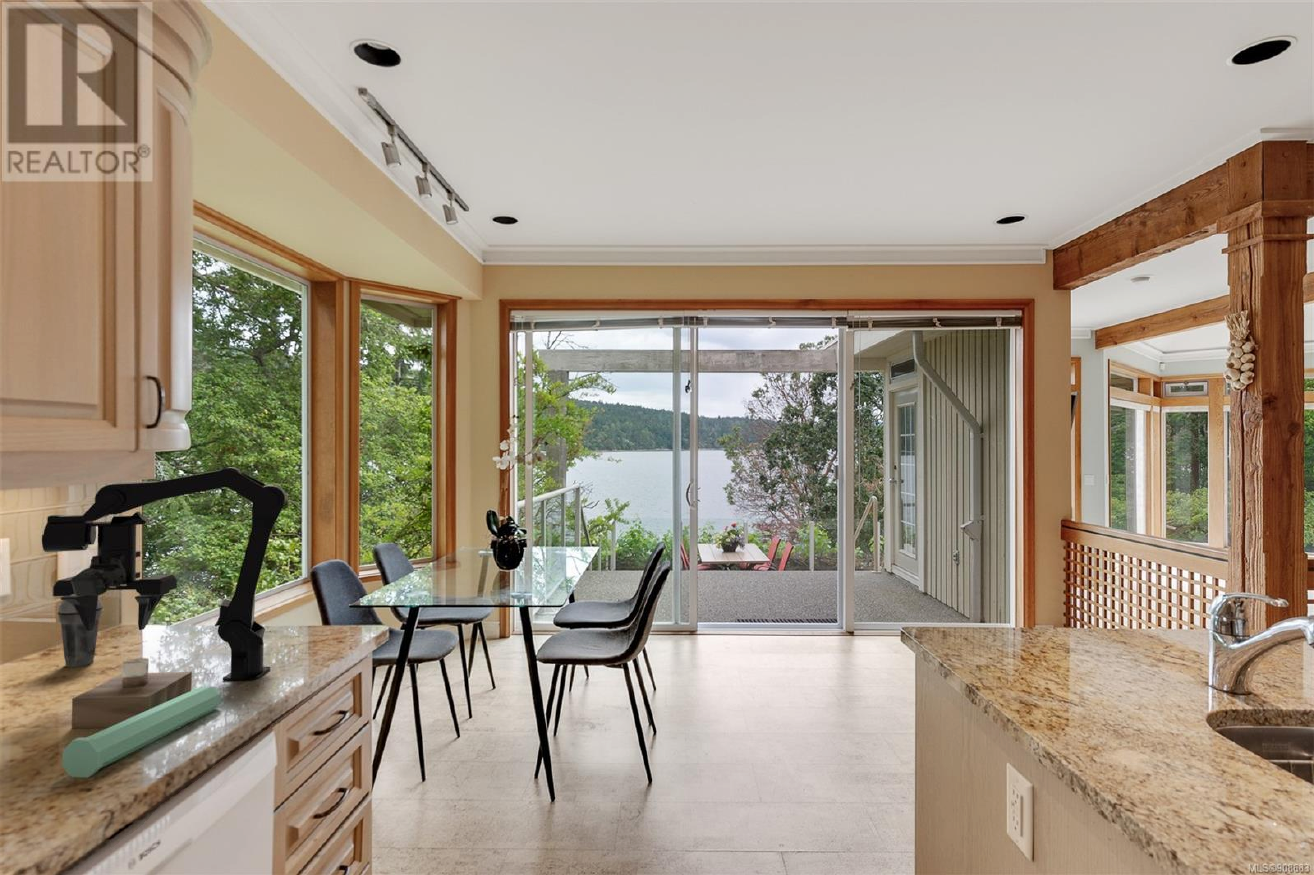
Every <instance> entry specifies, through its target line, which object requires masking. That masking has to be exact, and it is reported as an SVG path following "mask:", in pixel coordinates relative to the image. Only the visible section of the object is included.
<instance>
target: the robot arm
mask: <svg viewBox="0 0 1314 875" xmlns="http://www.w3.org/2000/svg"><path fill="white" fill-rule="evenodd" d="M223 488H228V489H230V490H232V491H233V492H235V493H236V494H238V495H239V496H240V497H243V498H245V499H246V500H248V501H250V502H252V505H251V506H252V511H251V529H250V530H251V531H250V534H249V536H248V541H247V544H246V548H245V552H244V556H243V560H242V564H241V567H240V570H239V574H238V579H237V583H236V586H235V591H234V594H233V595H232V598H231V600H228V599H225V598H224V599H223V600H222V603H221V604H220V606H219V617H218V619H217V621H216V622H215V624H214V627H217V635H218V636H219V638H220V639H221V640H222V641H224V642H225V643H228V646H229V648H230V672H229V673H228V674H226V675H224V676H223V677H222V680H223V681H239V680H240V681H244V680H245V681H246V680H249V681H250V680H257V679H258V678H261V676H263V675H264V674H266V673H267V672H268V671H270V670H271V666H264V643H265V642H264V635H265V631H266V628H265V627H264V626H263V625H261V624H260V623H258V622H257V621H256V620H255V607H256V605H255V604H256V603H255V602H256V592H257V591H256V590H257V587H258V583H259V579H260V576H261V572H262V569H263V564H264V560H265V556H266V553H267V549H268V546H269V542H270V538H271V534H272V531H273V528H274V526H275V524H276V522H277V520H278V518H279V516H280V513H281V512H282V510H283V507H284V505H285V503H286V500H287V493H286V492H285V490H284V488H282V487H281V486H279V485H276V484H270V483H269V484H265V483H264V482H262V481H260V480H258V479H256V478H254V477H252V476H250V475H248V474H246V473H244V472H243V471H242V470H240V469H239V468H236V467H234V466H232V467H231V466H229V467H225V468H223V469H219V470H213V471H208V472H203V473H197V474H196V473H195V474H192V475H186V476H185V475H184V476H180V477H175V478H168V479H164V480H163V479H162V480H158V481H157V480H155V481H130V482H129V481H128V482H127V481H126V482H125V481H124V482H123V481H122V482H116V483H115V482H114V483H112V484H108V485H105V486H103V487H101V488H99V489H98V491H97V492H96V494H95V496H94V503H93V504H92V505H91V506H90V507H89V508H88V509H87V511H85V512H84V514H78V515H76V514H75V515H74V514H73V515H72V514H71V515H63V514H51V515H48V516H47V519H46V520H47V522H46V524H45V527H44V529H43V530H44V531H43V534H41V546H42V549H43V552H45V553H58V552H59V553H60V552H61V553H62V552H74V551H75V552H76V551H77V552H78V551H87V549H88V548H89V546H90V545H94V544H95V542H96V540H97V548H96V549H97V555H93V556H91V559H90V565H89V567H88V568H84V569H83V570H81V571H79V573H78V574H75V575H73V576H69V577H66V578H62V579H58V580H57V581H55V583H54V585H53V586H52V596H53V597H60V600H61V601H63V600H65V601H67V602H69V603H71V604H72V605H73V606H74V607H75V609H76V610H77V612H78V614H79V616H80V618H81V620H82V622H83V624H84V626H85V628H86V631H91V630H93V627H94V623H95V618H96V610H97V602H98V597H99V596H102V595H103V594H106V592H107V591H120V590H121V591H127V590H128V591H129V590H131V591H132V590H135V591H136V593H137V594H139V595H137V596H134V599H135V600H136V602H137V604H138V609H137V610H138V611H137V614H138V615H137V625H138V626H137V627H138V630H139V631H142V630H145V628H146V626H147V625H148V623H149V621H150V620H151V617H152V615H153V614H154V611H155V609H156V607H157V605H158V604H160V601H161V600H162V598H163V597H164V595H168V594H169V593H170V591H172V590H175V589H177V587H178V586H177V585H178V583H177V582H178V580H177V578H176V577H175V575H174V574H153V575H149V576H146V577H143V578H141V572H140V571H136V570H137V566H136V564H137V558H140V557H141V553H142V552H141V550H137V526H139V525H147V523H150V519H149V518H147V517H146V516H144V515H143V514H142V513H141V511H136V512H134V513H133V514H132V515H119V514H123V513H125V512H129V511H131V510H134V509H137V508H140V507H143V506H145V505H149V504H152V503H154V502H157V501H161V500H166V499H170V498H171V499H172V498H176V497H180V496H186V495H187V496H188V495H191V494H196V493H202V492H207V491H212V490H216V489H218V490H219V489H223ZM110 515H113V517H112V518H111V520H110V521H98V520H100V519H103V518H106V517H108V516H110ZM117 515H118V516H117Z"/></svg>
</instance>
